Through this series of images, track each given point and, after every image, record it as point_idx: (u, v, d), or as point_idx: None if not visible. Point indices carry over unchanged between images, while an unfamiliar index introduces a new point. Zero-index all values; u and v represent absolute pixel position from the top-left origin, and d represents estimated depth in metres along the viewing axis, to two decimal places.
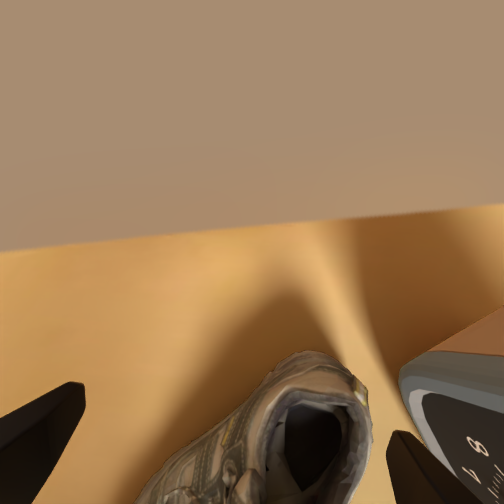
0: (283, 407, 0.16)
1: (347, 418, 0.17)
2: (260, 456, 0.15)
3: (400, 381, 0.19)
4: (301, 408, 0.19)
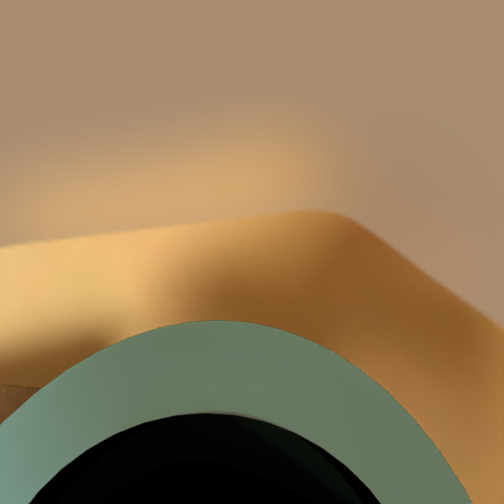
0: None
1: None
2: None
3: None
4: None
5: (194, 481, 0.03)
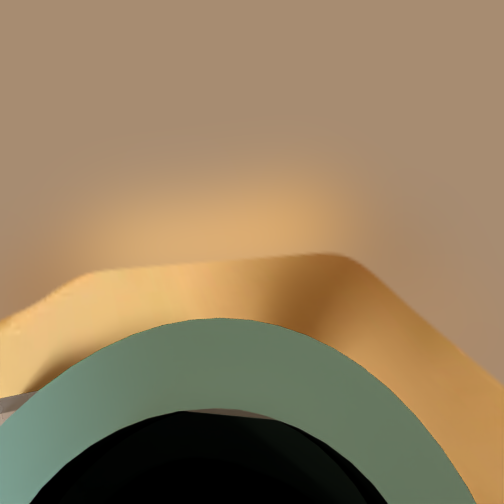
0: None
1: None
2: None
3: None
4: None
5: (198, 478, 0.03)
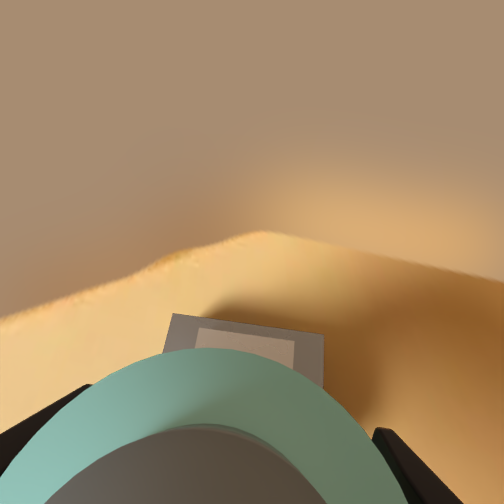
0: None
1: None
2: None
3: None
4: None
5: None
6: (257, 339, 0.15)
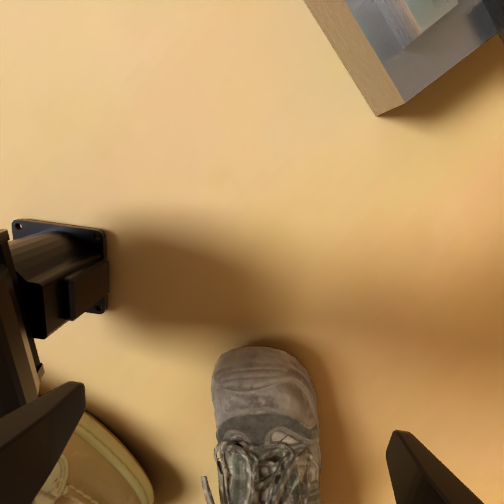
0: None
1: None
2: None
3: None
4: None
5: None
6: None
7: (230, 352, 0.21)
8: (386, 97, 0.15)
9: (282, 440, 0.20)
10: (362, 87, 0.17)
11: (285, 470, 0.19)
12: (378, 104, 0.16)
